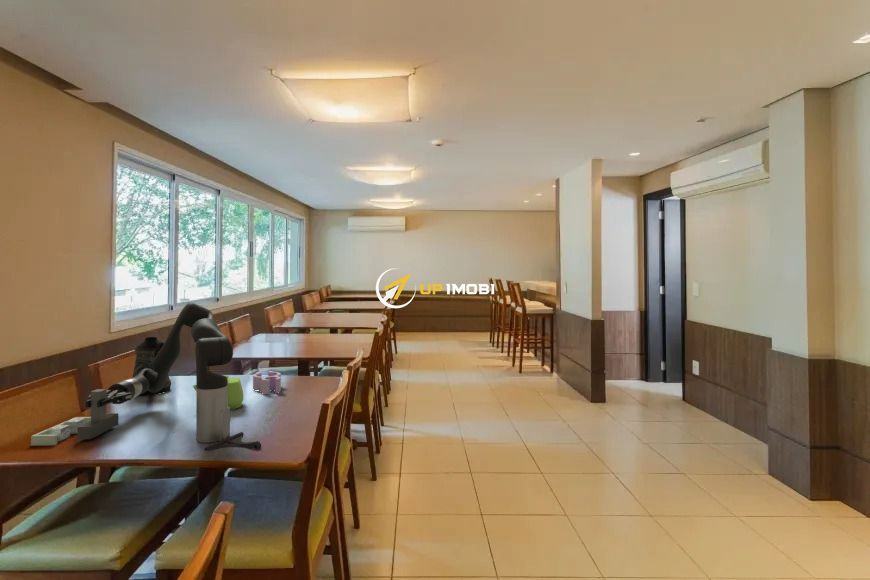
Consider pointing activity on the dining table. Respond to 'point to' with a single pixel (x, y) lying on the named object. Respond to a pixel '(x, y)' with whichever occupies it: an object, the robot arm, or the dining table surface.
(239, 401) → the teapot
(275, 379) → the clip
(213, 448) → the bracket
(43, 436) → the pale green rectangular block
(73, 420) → the beige cube
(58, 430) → the grey cube block
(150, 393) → the beer stein
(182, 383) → the dining table surface
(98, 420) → the gray t-shaped block
